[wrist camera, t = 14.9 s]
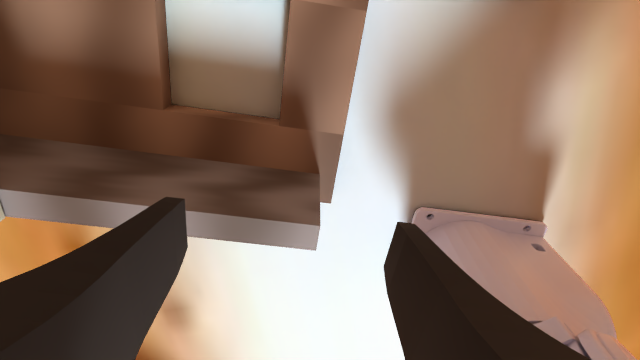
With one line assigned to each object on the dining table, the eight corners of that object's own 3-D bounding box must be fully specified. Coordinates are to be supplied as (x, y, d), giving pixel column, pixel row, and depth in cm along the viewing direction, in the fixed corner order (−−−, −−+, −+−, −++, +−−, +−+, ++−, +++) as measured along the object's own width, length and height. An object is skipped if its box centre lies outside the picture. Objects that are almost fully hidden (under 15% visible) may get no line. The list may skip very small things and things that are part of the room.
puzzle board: (379, -78, 16) (415, -123, 10) (330, 193, 23) (334, 260, 17) (-231, -189, 14) (-620, -323, 8) (-82, 143, 21) (-235, 198, 15)
